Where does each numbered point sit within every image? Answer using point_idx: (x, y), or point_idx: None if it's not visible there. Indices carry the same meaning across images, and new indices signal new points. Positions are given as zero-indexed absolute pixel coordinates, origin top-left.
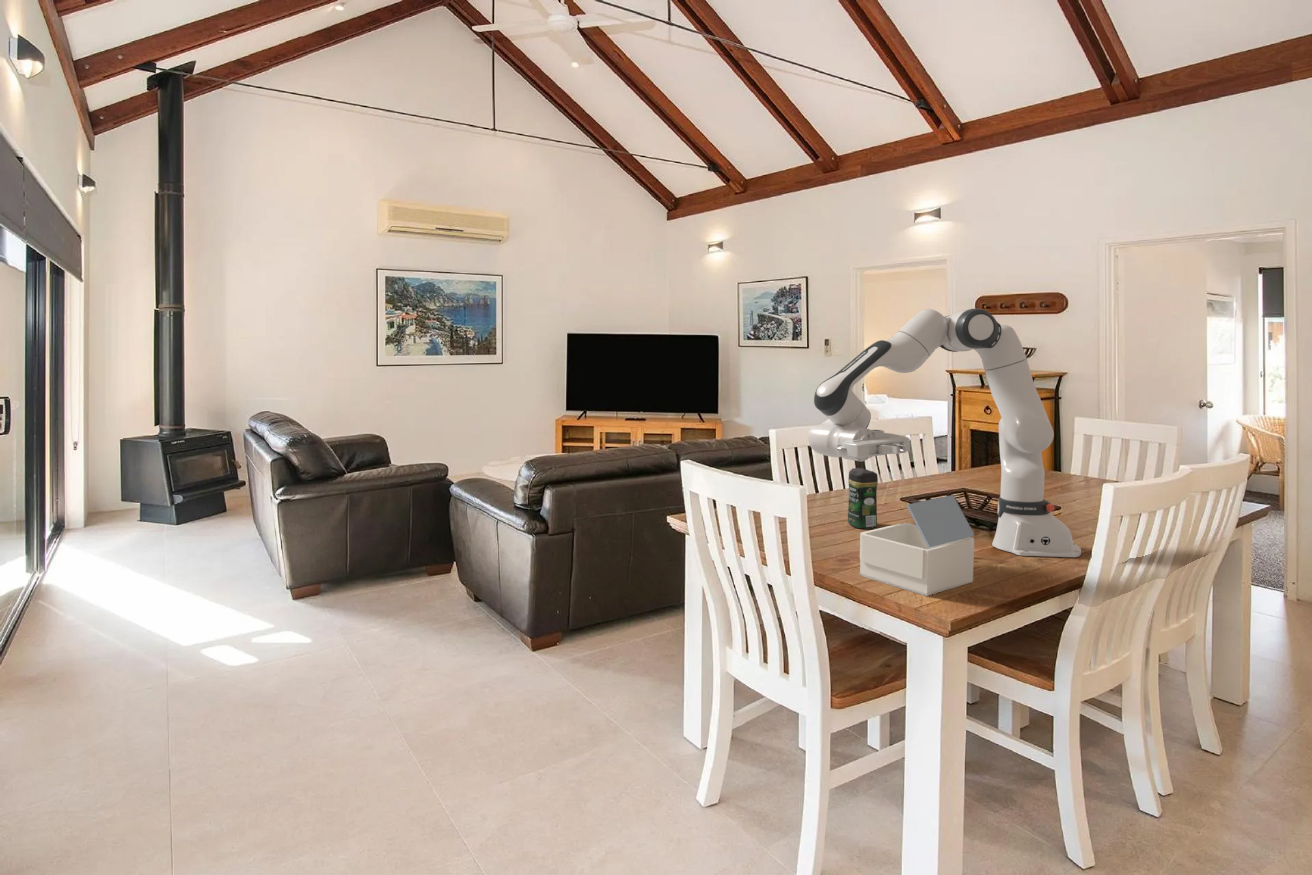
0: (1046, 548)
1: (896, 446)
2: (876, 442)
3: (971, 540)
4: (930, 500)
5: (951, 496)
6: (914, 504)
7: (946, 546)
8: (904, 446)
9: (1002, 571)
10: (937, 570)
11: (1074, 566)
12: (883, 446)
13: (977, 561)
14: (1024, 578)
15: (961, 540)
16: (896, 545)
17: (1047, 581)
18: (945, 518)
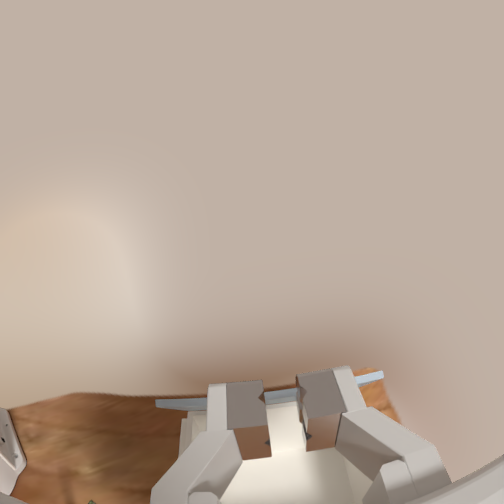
0: (2, 434)
1: (312, 393)
2: (495, 469)
3: (199, 412)
4: (276, 391)
5: (166, 400)
6: (356, 377)
7: (289, 403)
8: (229, 383)
9: (118, 455)
10: None
11: (42, 403)
12: (424, 446)
13: (90, 502)
14: (131, 422)
15: (194, 438)
16: None
17: (124, 400)
18: None
